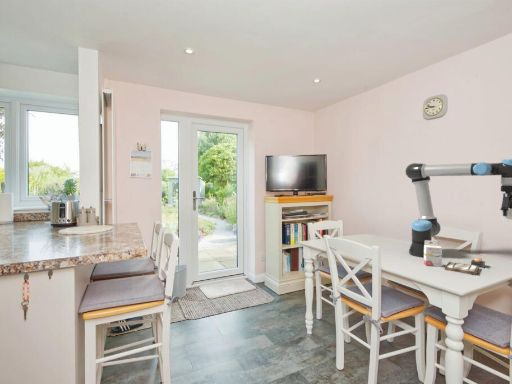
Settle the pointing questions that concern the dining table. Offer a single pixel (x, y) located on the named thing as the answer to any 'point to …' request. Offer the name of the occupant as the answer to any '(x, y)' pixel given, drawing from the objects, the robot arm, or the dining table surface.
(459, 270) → the brown divided square tray
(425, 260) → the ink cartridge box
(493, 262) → the dining table surface
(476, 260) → the button
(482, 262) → the button housing
